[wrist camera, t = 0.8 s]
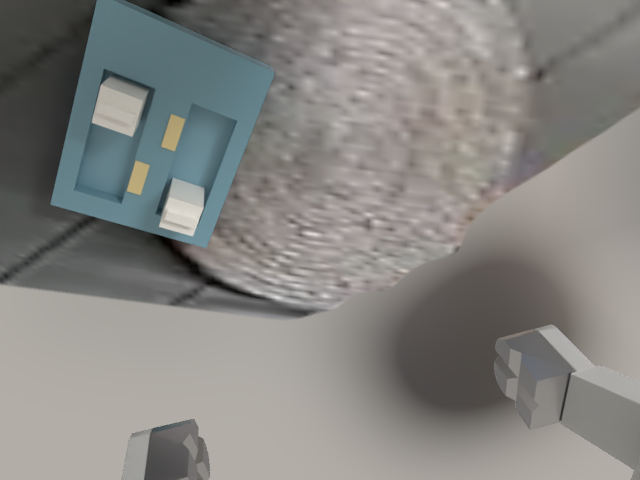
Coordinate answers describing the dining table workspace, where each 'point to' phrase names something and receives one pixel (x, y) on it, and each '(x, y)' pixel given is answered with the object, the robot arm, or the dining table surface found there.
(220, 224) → the dining table surface
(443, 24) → the dining table surface
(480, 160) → the dining table surface
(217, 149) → the switch bank
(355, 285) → the dining table surface
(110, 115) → the tab near
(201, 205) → the tab far
